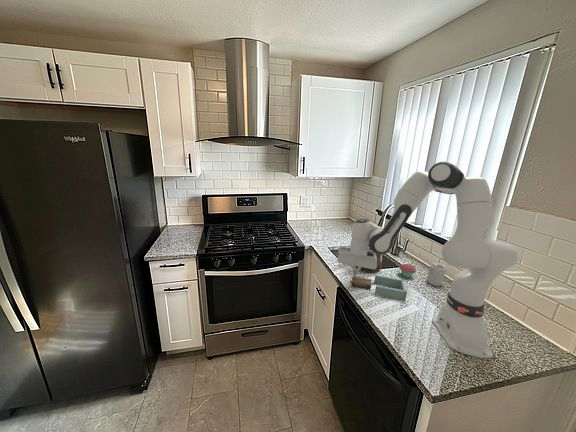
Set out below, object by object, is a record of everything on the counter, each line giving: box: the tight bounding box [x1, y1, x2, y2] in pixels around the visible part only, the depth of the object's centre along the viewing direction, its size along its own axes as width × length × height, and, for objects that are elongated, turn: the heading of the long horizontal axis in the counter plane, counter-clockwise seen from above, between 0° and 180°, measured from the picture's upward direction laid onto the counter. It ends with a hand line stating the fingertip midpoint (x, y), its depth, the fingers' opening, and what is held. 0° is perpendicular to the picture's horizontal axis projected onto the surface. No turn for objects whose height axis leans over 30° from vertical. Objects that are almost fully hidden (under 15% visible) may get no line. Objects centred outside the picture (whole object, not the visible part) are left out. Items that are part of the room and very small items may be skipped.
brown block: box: [351, 273, 372, 291], centre depth 127 cm, size 7×10×5 cm, turn 72°
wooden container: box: [355, 244, 384, 274], centre depth 145 cm, size 15×15×22 cm
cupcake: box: [399, 257, 417, 279], centre depth 139 cm, size 9×8×12 cm
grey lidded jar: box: [426, 261, 447, 287], centre depth 132 cm, size 8×8×12 cm
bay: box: [374, 274, 408, 301], centre depth 124 cm, size 12×14×4 cm
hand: (355, 272), depth 128 cm, fingers closed
